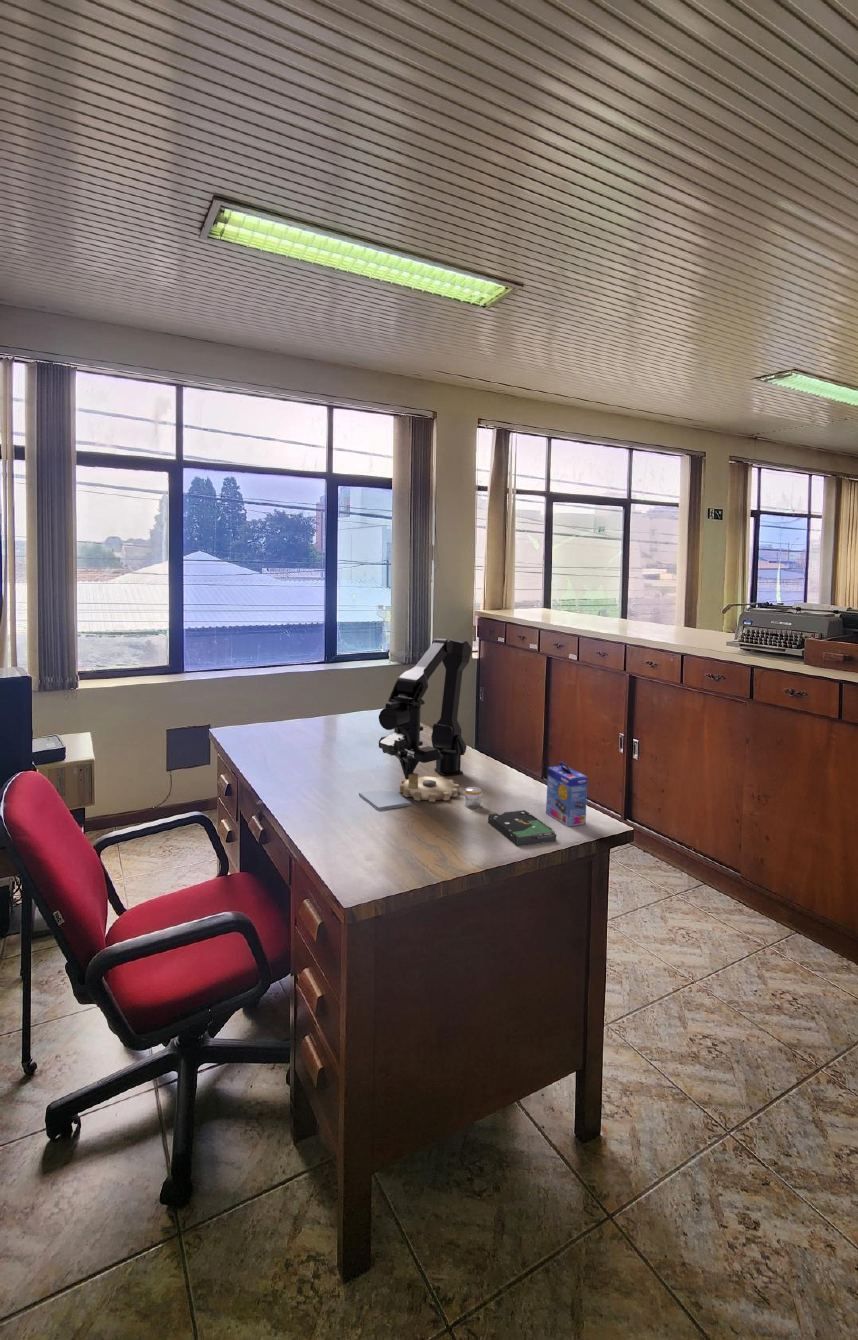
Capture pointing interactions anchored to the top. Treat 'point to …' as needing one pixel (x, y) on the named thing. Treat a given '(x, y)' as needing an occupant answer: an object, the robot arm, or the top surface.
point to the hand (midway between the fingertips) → (407, 779)
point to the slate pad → (384, 799)
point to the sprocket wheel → (428, 788)
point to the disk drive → (521, 828)
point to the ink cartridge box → (566, 795)
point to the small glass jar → (473, 797)
